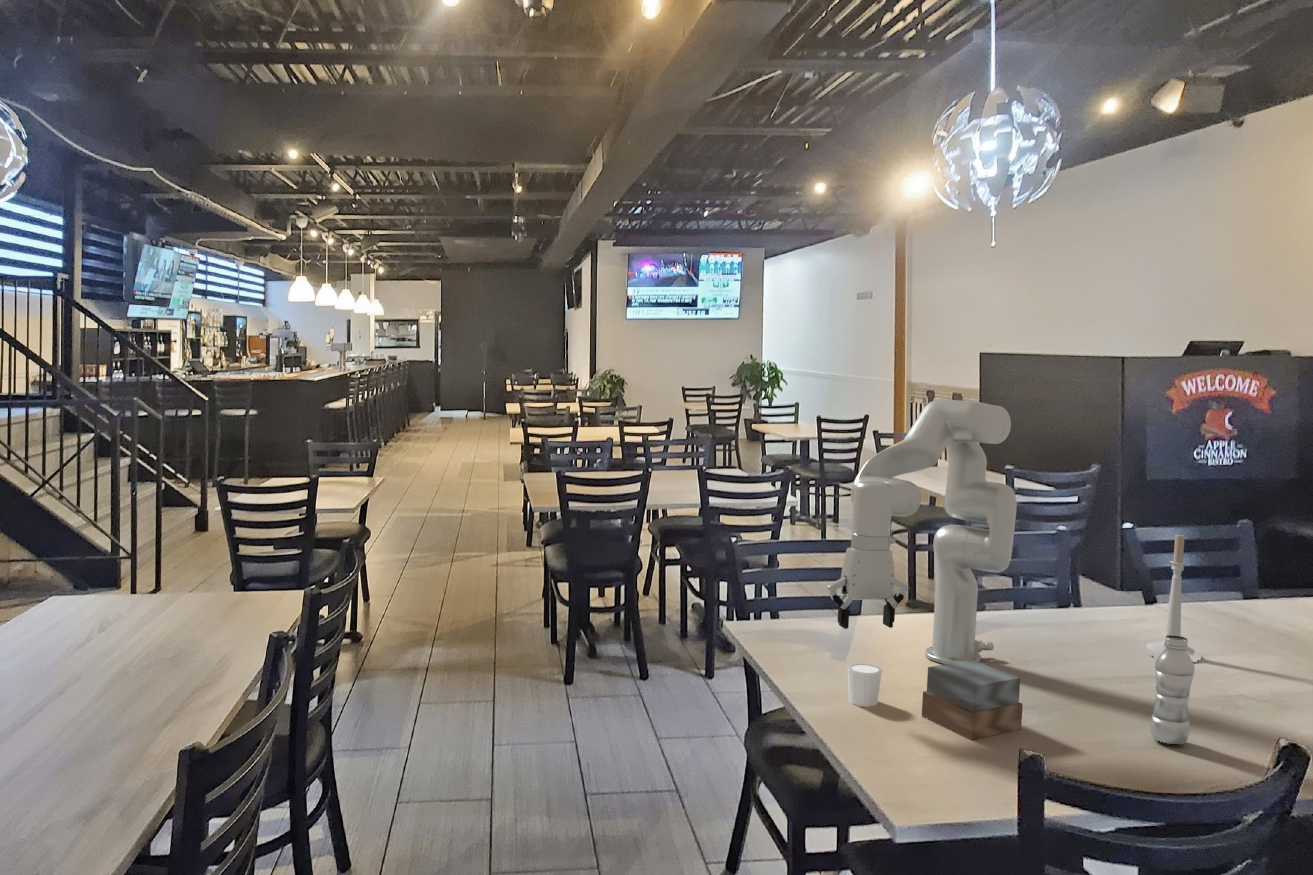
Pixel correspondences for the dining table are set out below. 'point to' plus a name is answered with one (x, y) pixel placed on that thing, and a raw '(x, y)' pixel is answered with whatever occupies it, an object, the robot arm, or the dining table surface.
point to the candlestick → (1174, 599)
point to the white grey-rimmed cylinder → (864, 684)
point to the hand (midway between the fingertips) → (865, 626)
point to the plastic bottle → (1172, 692)
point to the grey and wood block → (972, 699)
